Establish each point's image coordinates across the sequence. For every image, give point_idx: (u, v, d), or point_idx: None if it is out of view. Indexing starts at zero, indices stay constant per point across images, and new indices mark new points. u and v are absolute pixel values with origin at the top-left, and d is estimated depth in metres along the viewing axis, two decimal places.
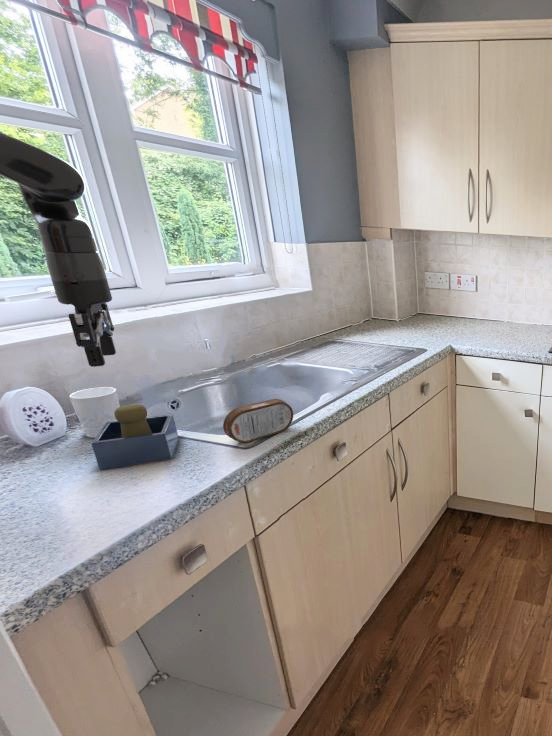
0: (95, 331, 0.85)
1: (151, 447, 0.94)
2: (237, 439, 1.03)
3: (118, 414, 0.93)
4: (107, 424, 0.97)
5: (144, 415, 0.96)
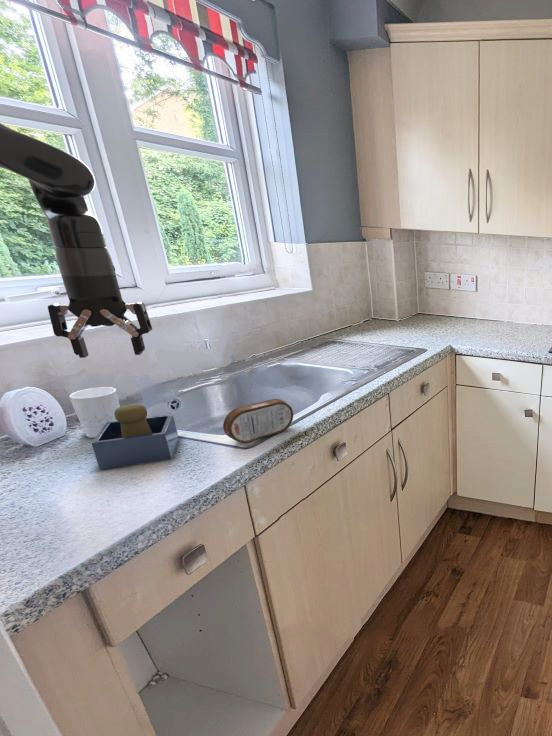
0: (129, 321, 0.91)
1: (151, 447, 0.94)
2: (237, 439, 1.03)
3: (118, 414, 0.93)
4: (107, 424, 0.97)
5: (144, 415, 0.96)
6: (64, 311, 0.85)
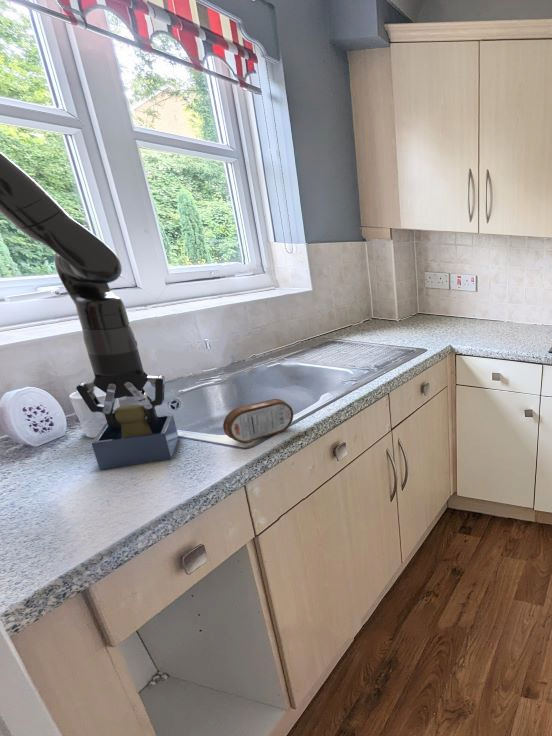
0: None
1: (151, 447, 0.94)
2: (237, 439, 1.03)
3: (118, 414, 0.93)
4: (107, 424, 0.97)
5: (144, 415, 0.96)
6: (91, 388, 0.90)
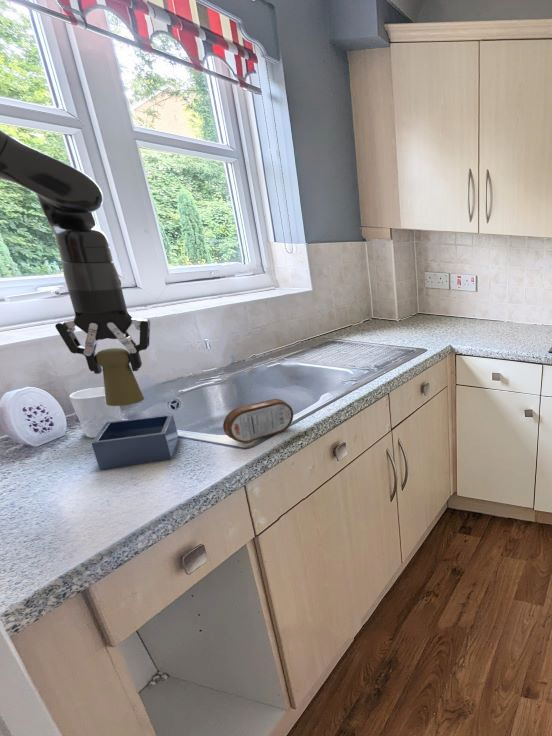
0: None
1: (151, 447, 0.94)
2: (237, 439, 1.03)
3: (100, 357, 0.88)
4: (107, 424, 0.97)
5: (128, 360, 0.91)
6: (72, 327, 0.86)
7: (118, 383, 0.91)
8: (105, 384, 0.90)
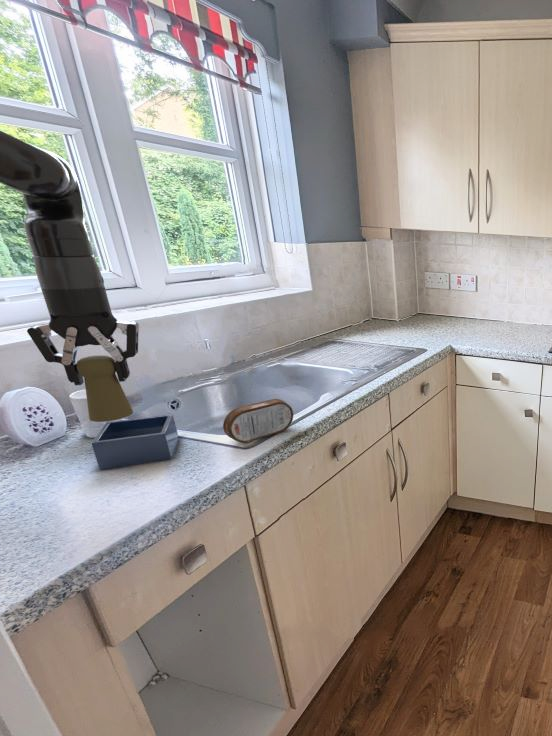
0: None
1: (151, 447, 0.94)
2: (237, 439, 1.03)
3: (80, 366, 0.77)
4: (107, 424, 0.97)
5: (113, 369, 0.79)
6: (47, 332, 0.74)
7: (102, 396, 0.79)
8: (87, 397, 0.79)
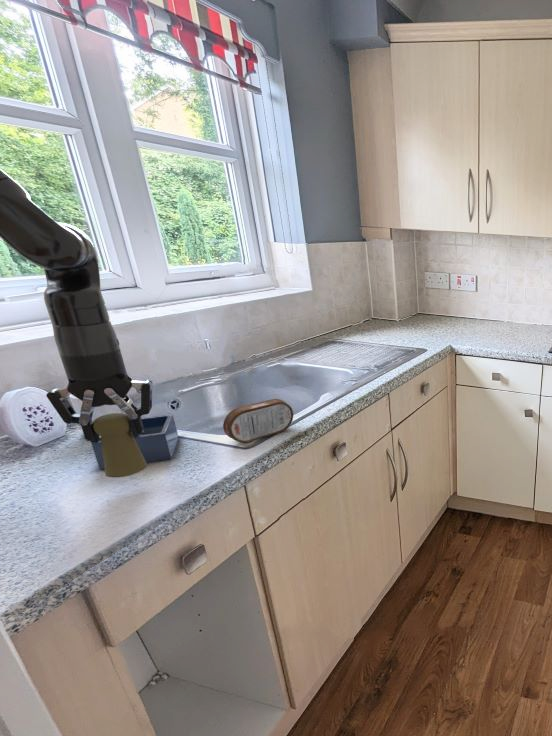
0: None
1: (151, 447, 0.94)
2: (237, 439, 1.03)
3: (97, 426, 0.79)
4: None
5: (128, 426, 0.82)
6: (65, 395, 0.77)
7: (118, 453, 0.81)
8: (103, 454, 0.81)
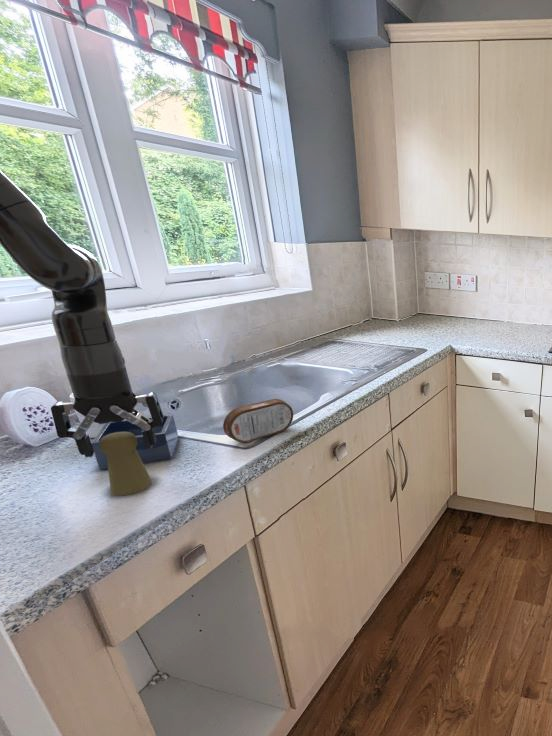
0: (140, 413, 0.84)
1: None
2: (237, 439, 1.03)
3: (103, 445, 0.80)
4: (107, 424, 0.97)
5: (134, 445, 0.83)
6: (68, 410, 0.78)
7: (124, 471, 0.83)
8: (109, 472, 0.83)
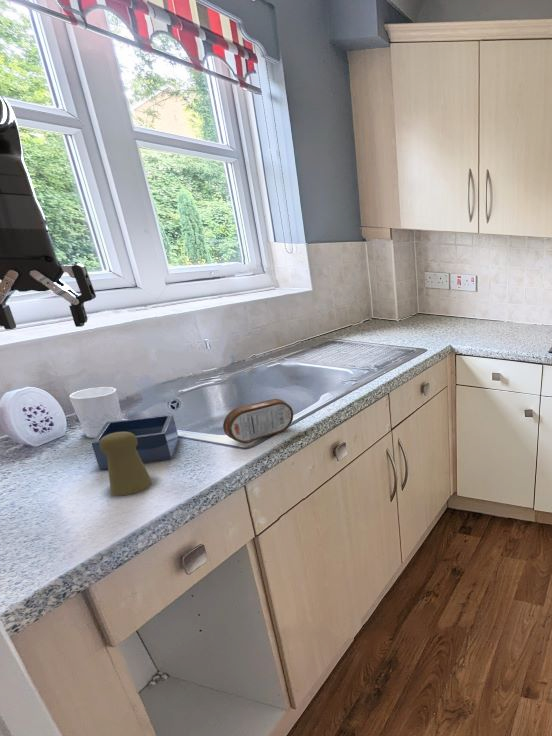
0: (67, 286, 0.77)
1: (151, 447, 0.94)
2: (237, 439, 1.03)
3: (103, 445, 0.80)
4: (107, 424, 0.97)
5: (134, 445, 0.83)
6: None
7: (124, 471, 0.83)
8: (109, 472, 0.83)
